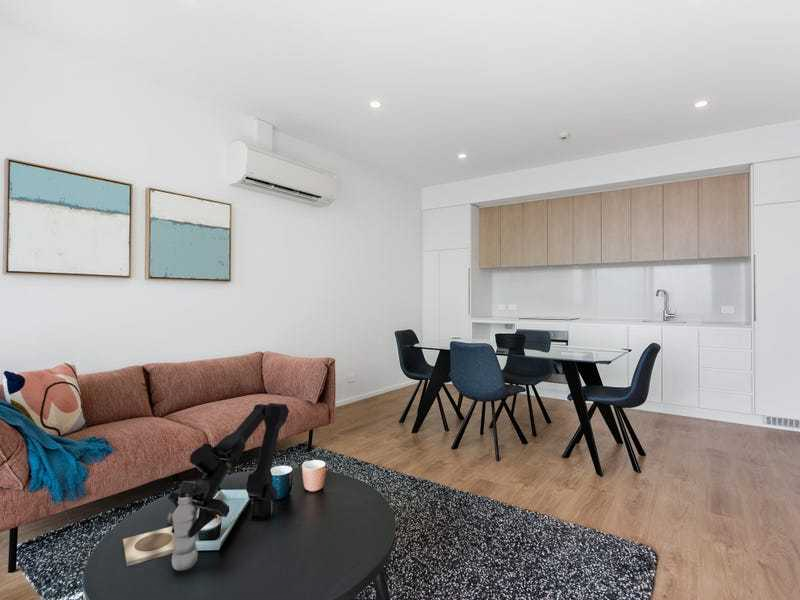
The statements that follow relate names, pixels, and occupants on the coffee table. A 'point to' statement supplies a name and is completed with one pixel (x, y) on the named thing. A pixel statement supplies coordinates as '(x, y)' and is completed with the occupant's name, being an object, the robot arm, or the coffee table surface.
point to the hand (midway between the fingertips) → (181, 535)
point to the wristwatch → (171, 515)
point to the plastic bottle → (184, 534)
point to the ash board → (148, 546)
